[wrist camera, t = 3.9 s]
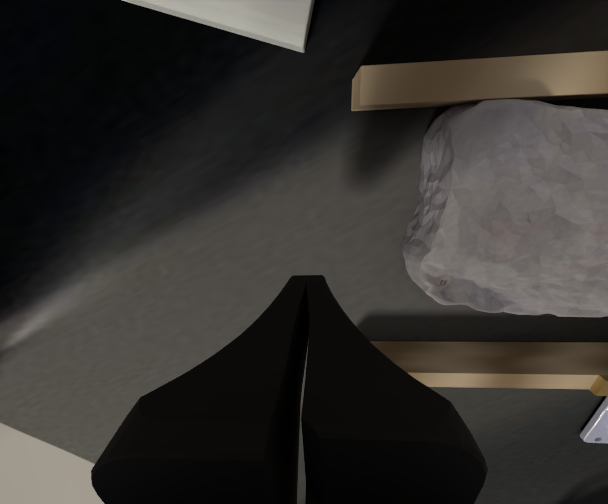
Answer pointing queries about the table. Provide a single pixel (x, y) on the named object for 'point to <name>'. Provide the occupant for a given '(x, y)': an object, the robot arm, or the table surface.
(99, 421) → the table surface
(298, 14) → the external hard drive
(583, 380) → the beam track
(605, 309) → the stone block
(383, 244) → the table surface
